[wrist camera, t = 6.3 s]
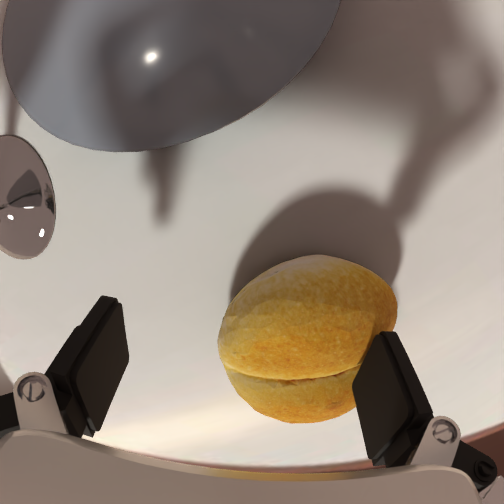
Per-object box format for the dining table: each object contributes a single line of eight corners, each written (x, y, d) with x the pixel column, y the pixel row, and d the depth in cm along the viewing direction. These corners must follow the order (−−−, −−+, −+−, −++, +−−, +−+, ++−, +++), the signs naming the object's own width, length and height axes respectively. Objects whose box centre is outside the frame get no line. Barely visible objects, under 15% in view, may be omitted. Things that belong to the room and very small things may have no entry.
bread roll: (391, 236, 13) (434, 286, 9) (372, 372, 17) (391, 425, 13) (201, 259, 13) (185, 320, 10) (235, 390, 17) (233, 448, 14)
